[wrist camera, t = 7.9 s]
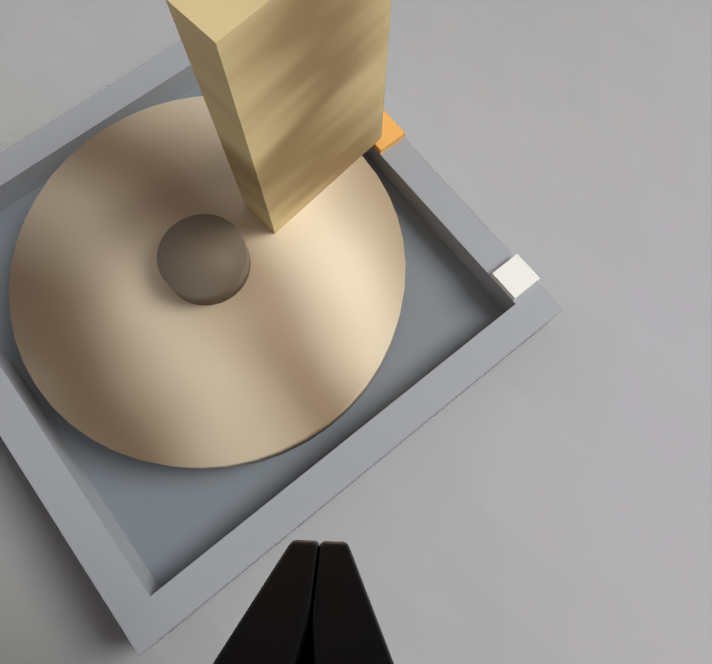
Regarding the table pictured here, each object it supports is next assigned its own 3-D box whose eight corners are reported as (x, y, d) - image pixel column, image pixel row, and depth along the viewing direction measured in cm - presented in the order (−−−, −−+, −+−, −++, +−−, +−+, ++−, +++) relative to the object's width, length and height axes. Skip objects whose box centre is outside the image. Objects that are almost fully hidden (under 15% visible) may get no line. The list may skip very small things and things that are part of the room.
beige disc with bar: (202, 557, 20) (29, 630, 9) (-42, 282, 23) (-394, 96, 12) (495, 261, 23) (617, 61, 12) (248, 46, 25) (171, -274, 15)
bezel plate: (545, 324, 23) (565, 306, 21) (159, 640, 20) (135, 658, 18) (272, 24, 27) (264, -19, 25) (-89, 254, 24) (-134, 230, 22)
